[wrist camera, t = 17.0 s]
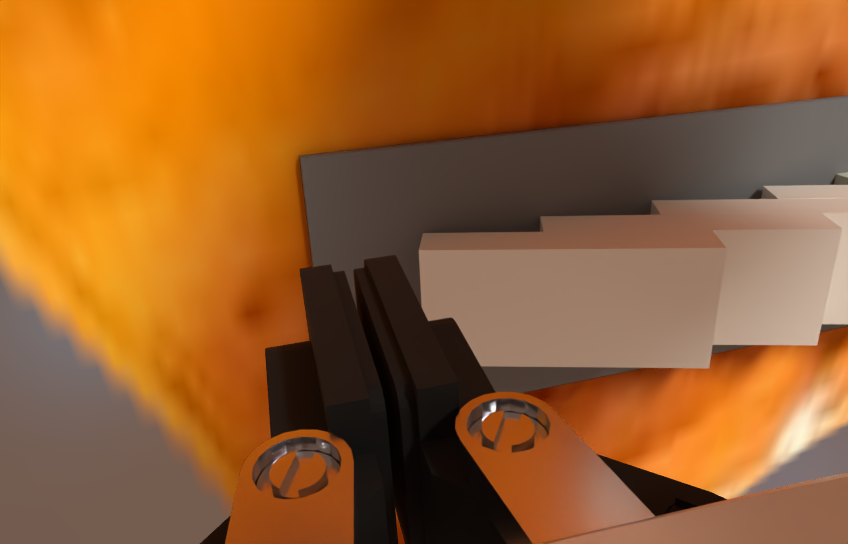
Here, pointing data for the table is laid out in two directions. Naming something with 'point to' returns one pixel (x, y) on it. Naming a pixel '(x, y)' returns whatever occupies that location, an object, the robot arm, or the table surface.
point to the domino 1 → (577, 296)
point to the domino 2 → (751, 268)
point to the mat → (560, 186)
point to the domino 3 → (844, 293)
